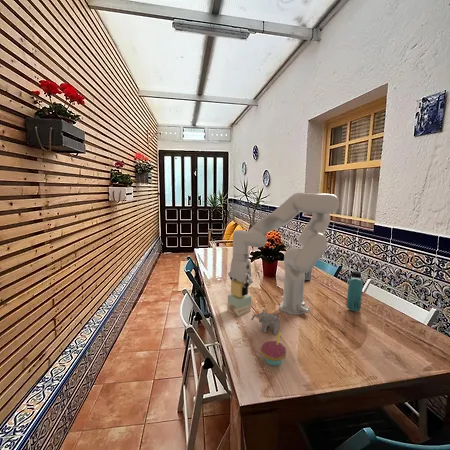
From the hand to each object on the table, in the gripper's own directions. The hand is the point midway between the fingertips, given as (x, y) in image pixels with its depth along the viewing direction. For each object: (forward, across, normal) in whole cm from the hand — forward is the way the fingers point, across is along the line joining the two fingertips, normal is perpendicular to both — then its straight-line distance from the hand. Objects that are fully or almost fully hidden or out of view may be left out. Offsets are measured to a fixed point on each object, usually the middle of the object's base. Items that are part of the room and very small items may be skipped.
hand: (239, 292), depth 125 cm
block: (+1, 0, 0) cm, 1 cm away
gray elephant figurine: (+10, -19, +4) cm, 22 cm away
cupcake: (+10, -34, +18) cm, 40 cm away
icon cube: (+10, +6, -67) cm, 68 cm away
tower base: (+10, 0, 0) cm, 10 cm away
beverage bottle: (+10, -37, -43) cm, 58 cm away
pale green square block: (+6, 0, 0) cm, 6 cm away
